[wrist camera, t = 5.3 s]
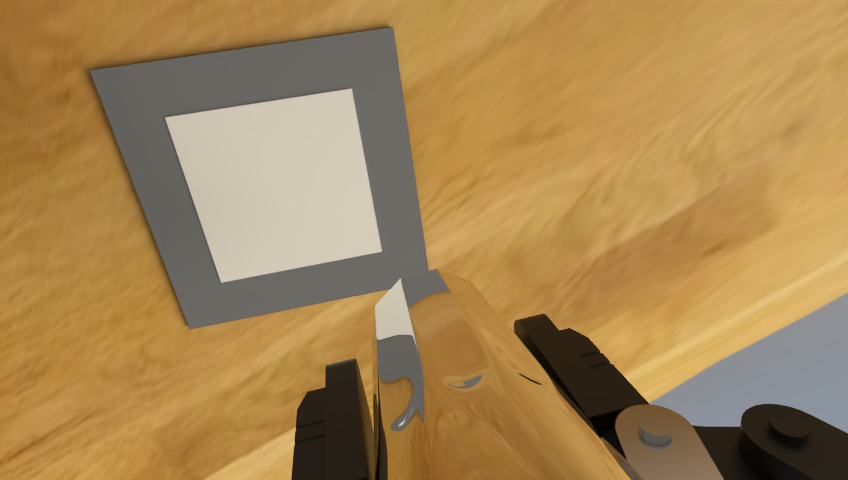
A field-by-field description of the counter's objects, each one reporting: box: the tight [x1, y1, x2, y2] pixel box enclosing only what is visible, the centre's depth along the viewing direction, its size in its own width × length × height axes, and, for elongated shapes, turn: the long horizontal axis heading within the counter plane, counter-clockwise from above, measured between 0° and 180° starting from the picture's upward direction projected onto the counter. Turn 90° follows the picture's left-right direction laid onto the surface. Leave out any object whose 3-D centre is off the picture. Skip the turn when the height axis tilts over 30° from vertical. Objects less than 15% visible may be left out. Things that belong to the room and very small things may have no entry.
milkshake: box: [372, 269, 644, 480], centre depth 9 cm, size 4×5×10 cm
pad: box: [89, 27, 429, 329], centre depth 25 cm, size 14×14×1 cm
